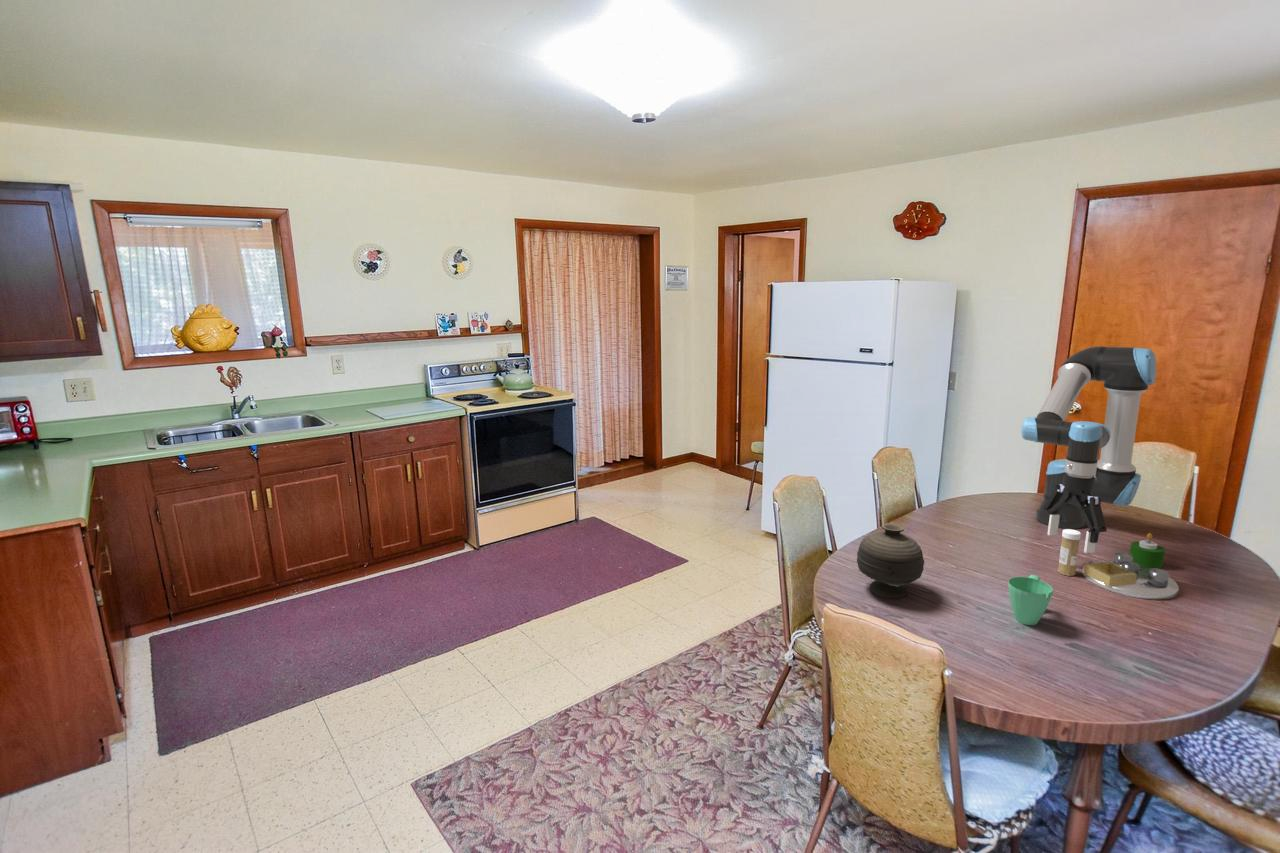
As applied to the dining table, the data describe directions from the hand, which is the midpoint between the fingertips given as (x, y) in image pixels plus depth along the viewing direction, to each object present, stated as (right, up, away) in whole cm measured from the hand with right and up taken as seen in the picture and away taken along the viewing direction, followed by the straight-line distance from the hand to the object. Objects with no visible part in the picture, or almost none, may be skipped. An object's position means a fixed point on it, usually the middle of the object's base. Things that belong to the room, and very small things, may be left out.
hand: (1069, 543), depth 185 cm
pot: (-57, -13, -6) cm, 59 cm away
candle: (+29, -8, +8) cm, 31 cm away
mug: (-26, -15, -22) cm, 38 cm away
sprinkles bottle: (0, -10, +2) cm, 10 cm away
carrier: (+14, -10, -4) cm, 18 cm away
